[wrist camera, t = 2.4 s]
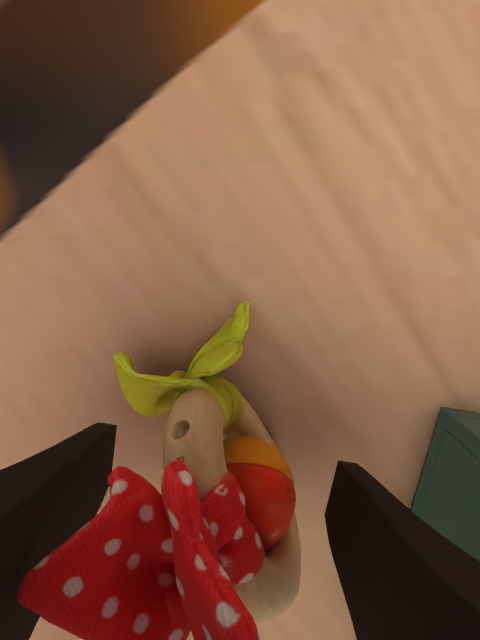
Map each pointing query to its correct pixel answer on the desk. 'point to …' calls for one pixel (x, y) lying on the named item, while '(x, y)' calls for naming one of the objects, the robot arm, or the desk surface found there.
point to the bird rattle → (183, 520)
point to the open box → (453, 481)
